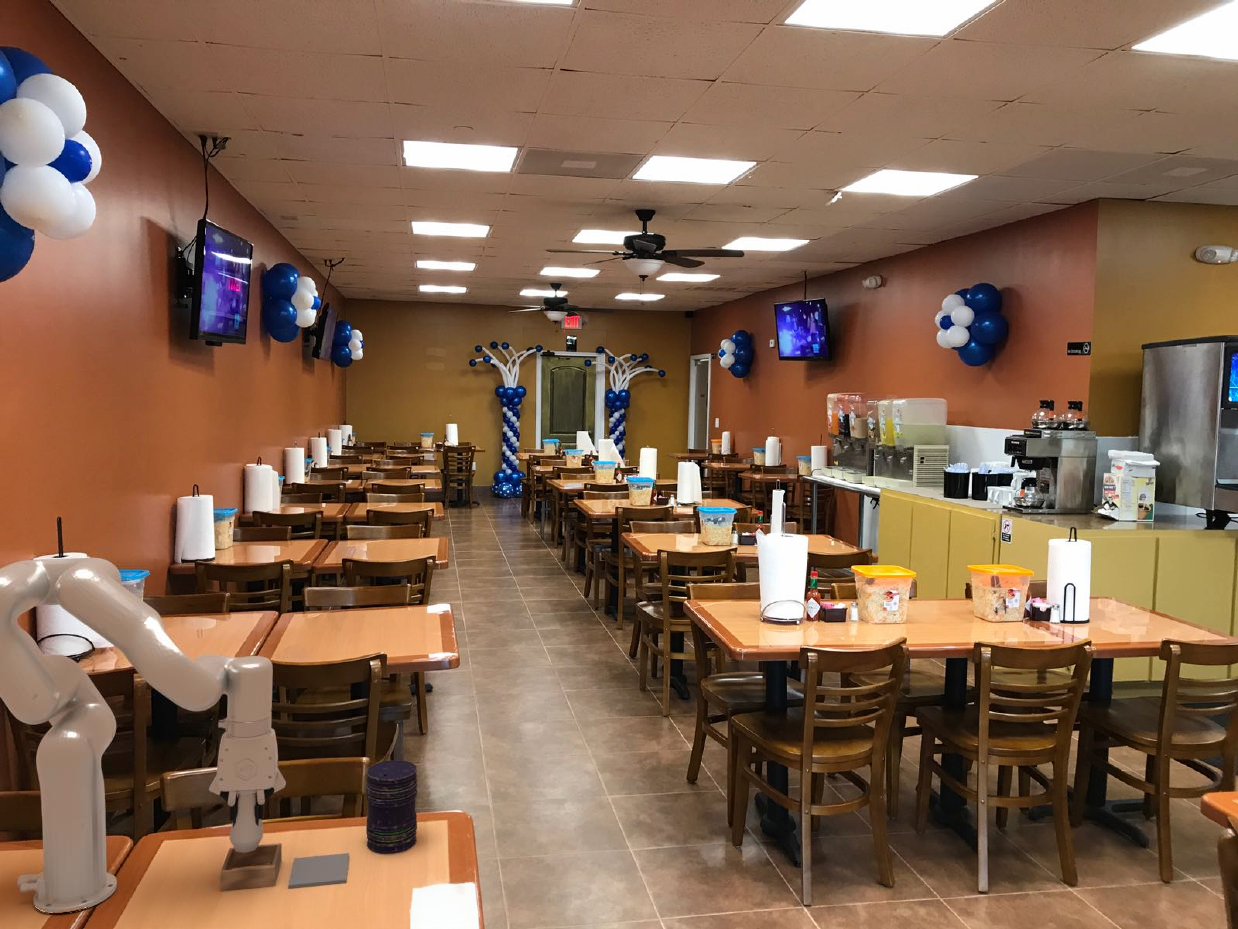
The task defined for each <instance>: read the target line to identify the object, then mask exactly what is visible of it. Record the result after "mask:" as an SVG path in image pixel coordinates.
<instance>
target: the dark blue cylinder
mask: <svg viewBox="0 0 1238 929" xmlns="http://www.w3.org/2000/svg"><path fill="white" fill-rule="evenodd" d="M417 770H418V769H417V765H416V764H415V763H413V762H411V761H408V760H400V759H398V760H397V759H393V760H386V761H381V762H377V763H375V764H372V765H371V766H370V767H368V768H367V770H366V784H365V786H366V795H365V796H366V801H367V817H366V827H365V830H366V831H365V833H366V847H368V848H367V849H368V850H369V851H370V852H371V853H374V852H375V853H374V854H377V853H378V854H377V855H396V853H397V854H400V853H403V852H406V851H409V850H410V849H413V847H414V846H415V845H416V843H417V829H418V822H417V818H418V817H417V812H416V798H417V794H418V790H417V789H418V779H417V776H418V775H417Z"/></svg>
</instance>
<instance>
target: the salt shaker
mask: <svg viewBox="0 0 1238 929" xmlns="http://www.w3.org/2000/svg"><path fill="white" fill-rule="evenodd" d="M237 794H238V802H237V805H238V813H237V817H236V823H235V825H234V827H233V823H231V828H230V833H229V841H230V843H231V845H232V847H234V849H235V851H236V852H242V853H246V852H250V851H254V850H255V849H256V848H257V847H258V845H260V842H261V841H262V839H263V836H264V825H263V819H259V825H258V826H257V825H256V822H255V815H254V812H255V805H256V801H257V790H254V791H237Z"/></svg>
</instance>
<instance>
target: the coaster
mask: <svg viewBox="0 0 1238 929" xmlns="http://www.w3.org/2000/svg"><path fill="white" fill-rule="evenodd" d="M349 858H350V853H349V852H348V853H336V854H325V855H316V856H315V855H314V856H305V857H304V856H303V857H295V858H293V863H292V868H291V871H290V877H289V879H288V880H289V881H288V885H287V888H288V889H297V888H304V887H303V886H308V887H317V886H327V885H328V886H329V885H337V883H338V884H346V883H347V877H348V867H349V861H348V860H350V859H349Z"/></svg>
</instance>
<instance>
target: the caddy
mask: <svg viewBox="0 0 1238 929" xmlns="http://www.w3.org/2000/svg"><path fill="white" fill-rule="evenodd" d="M282 857H283V856H282V842H279V843H268V844H266V843H265V844H259V845H258V847H257V848H256V849H255V850H254V851H250V852H246V853H242V852H236V851H235V849H234V846H232V847H229V849H228V852H227V855H226V856H225V859H224V862H223V865H222V867H221V870H220V877H219V879H220V880H219V882H220V892H226V891H227V892H228V891H236V890H237V891H239V890H245V889H246V890H247V889H259V888H267V887H275V886H276V884H277V881H276V880H278V876H279V873H280V872H279V871H280V869H281V868H280V867H281V865H282ZM267 863H270V864H272V865H269V866H259V865H268V864H267ZM247 866H256V867H247ZM257 866H258V867H257ZM237 867H243V868H237ZM244 867H245V868H244ZM233 868H234V869H233Z"/></svg>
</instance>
